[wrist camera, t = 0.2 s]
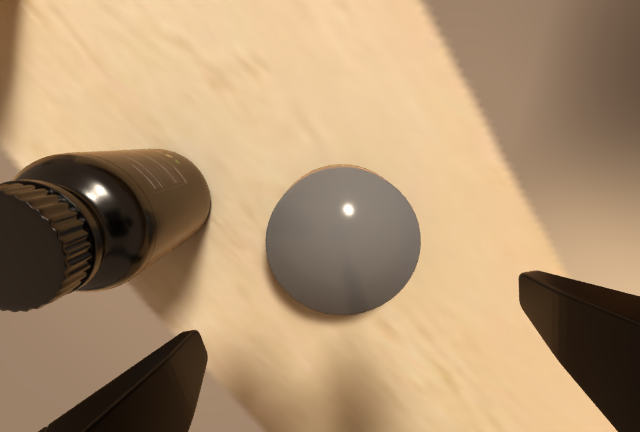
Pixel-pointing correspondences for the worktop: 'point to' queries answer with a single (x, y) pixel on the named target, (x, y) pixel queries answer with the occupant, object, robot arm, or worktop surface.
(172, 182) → the supplement bottle
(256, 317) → the worktop surface
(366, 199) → the stand
